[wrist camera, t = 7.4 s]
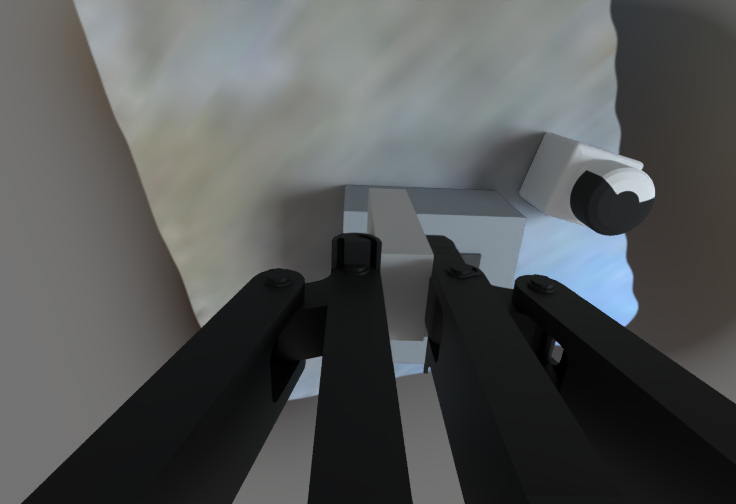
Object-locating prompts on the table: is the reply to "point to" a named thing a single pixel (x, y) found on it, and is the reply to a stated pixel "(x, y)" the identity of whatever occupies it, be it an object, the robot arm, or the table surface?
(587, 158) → the container
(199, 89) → the table surface
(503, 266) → the socket block
